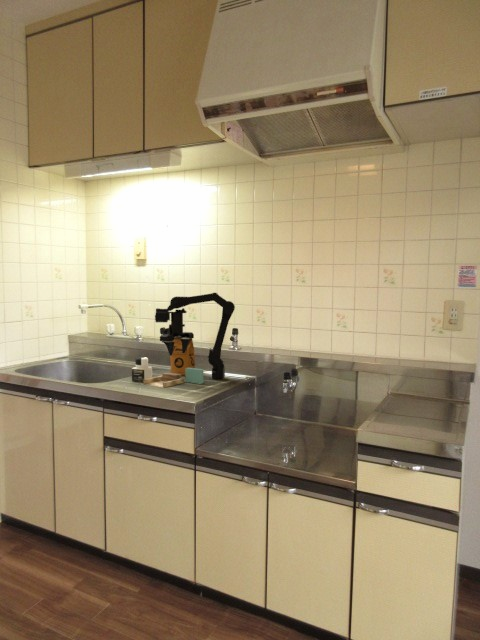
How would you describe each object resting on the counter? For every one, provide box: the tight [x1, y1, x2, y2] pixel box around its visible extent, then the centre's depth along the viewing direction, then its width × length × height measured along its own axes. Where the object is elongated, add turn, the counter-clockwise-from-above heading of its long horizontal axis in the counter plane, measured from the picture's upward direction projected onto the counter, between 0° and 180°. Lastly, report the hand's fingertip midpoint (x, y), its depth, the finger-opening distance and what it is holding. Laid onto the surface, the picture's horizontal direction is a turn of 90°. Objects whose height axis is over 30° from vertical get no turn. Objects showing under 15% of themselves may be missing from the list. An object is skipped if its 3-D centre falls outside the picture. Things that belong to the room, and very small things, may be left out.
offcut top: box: [161, 372, 182, 379], centre depth 220 cm, size 4×8×2 cm, turn 60°
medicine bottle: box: [131, 356, 153, 383], centre depth 223 cm, size 7×7×12 cm
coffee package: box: [169, 338, 196, 377], centre depth 239 cm, size 10×12×22 cm
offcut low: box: [161, 377, 180, 382], centre depth 220 cm, size 4×9×2 cm, turn 56°
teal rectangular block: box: [185, 367, 205, 385], centre depth 218 cm, size 2×9×7 cm, turn 56°
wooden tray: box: [143, 375, 186, 388], centre depth 217 cm, size 14×13×3 cm
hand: (177, 354), depth 226 cm, fingers open, 9 cm apart
